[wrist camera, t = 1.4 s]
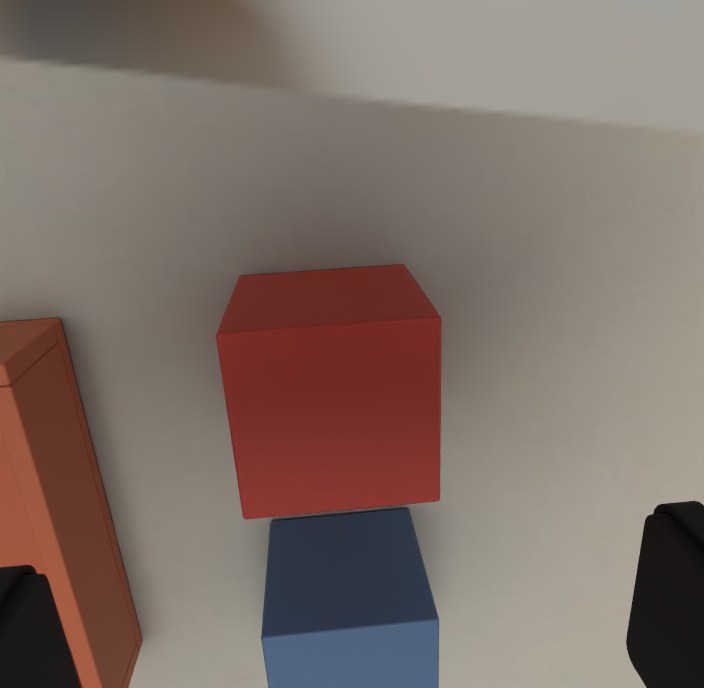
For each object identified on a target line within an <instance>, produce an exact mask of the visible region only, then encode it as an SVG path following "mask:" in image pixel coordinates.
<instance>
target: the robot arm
mask: <svg viewBox="0 0 704 688" xmlns="http://www.w3.org/2000/svg"><path fill="white" fill-rule="evenodd" d="M626 644H627V650H628V654H629V657H630V660H631V662H632V664H633V666H634V668H635V669H636V671H637V673H638V674H639V676H640V678H641V679H642V681H643V682H644V684H645V686H646V687H647V688H704V505H703V504H701V503H700V502H696V501H689V502H678V503H668V504H661V505H658V506H657V507H656V508H655V510H654V513H653V515H648V517H647V518H646V520H645V524H644V530H643V537H642V543H641V550H640V556H639V562H638V569H637V575H636V581H635V588H634V594H633V601H632V607H631V613H630V620H629V626H628V632H627V640H626ZM0 688H81V685H80V682H79V679H78V675H77V672H76V669H75V666H74V662H73V659H72V656H71V653H70V649H69V646H68V643H67V639H66V636H65V633H64V630H63V626H62V623H61V620H60V617H59V613H58V610H57V607H56V604H55V600H54V597H53V594H52V590H51V587H50V584H49V581H48V578H47V576H46V575H45V574H37V572H36V570H35V568H34V567H33V566H31V565H19V566H9V567H0Z"/></svg>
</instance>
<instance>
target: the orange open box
mask: <svg viewBox="0 0 704 688" xmlns="http://www.w3.org/2000/svg"><path fill="white" fill-rule="evenodd" d="M19 565H31V566H33V567H34V568H35V570H36V572H37V574H45V575H46V576H47V578H48V581H49V584H50V587H51V590H52V594H53V597H54V600H55V604H56V607H57V610H58V613H59V617H60V620H61V623H62V626H63V630H64V633H65V636H66V639H67V643H68V646H69V649H70V653H71V656H72V659H73V662H74V666H75V669H76V672H77V675H78V679H79V682H80V685H81V688H128V687H129V683H130V680H131V677H132V674H133V670H134V667H135V664H136V661H137V657H138V654H139V651H140V648H141V645H142V638H141V634H140V630H139V626H138V622H137V618H136V614H135V610H134V606H133V602H132V598H131V594H130V591H129V587H128V583H127V579H126V575H125V571H124V567H123V563H122V559H121V555H120V551H119V547H118V543H117V540H116V536H115V532H114V528H113V524H112V520H111V516H110V512H109V508H108V504H107V500H106V496H105V492H104V489H103V485H102V481H101V477H100V473H99V469H98V465H97V461H96V457H95V453H94V449H93V445H92V441H91V438H90V434H89V430H88V426H87V422H86V418H85V414H84V410H83V406H82V402H81V398H80V394H79V390H78V387H77V383H76V379H75V375H74V371H73V367H72V363H71V359H70V355H69V351H68V347H67V343H66V339H65V336H64V332H63V328H62V324H61V320H60V318H53V319H39V320H25V321H12V322H0V567H9V566H19Z"/></svg>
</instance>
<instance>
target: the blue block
mask: <svg viewBox="0 0 704 688" xmlns="http://www.w3.org/2000/svg"><path fill="white" fill-rule="evenodd" d="M261 640H262V647H263V653H264V660H265V667H266V673H267V680H268V687H269V688H438V687H439V618H438V614H437V610H436V607H435V603H434V599H433V596H432V592H431V588H430V585H429V581H428V577H427V574H426V570H425V567H424V563H423V559H422V556H421V552H420V548H419V545H418V541H417V537H416V534H415V530H414V526H413V523H412V519H411V515H410V512H409V509H407V508H406V509H396V510H385V511H375V512H364V513H353V514H343V515H332V516H322V517H311V518H301V519H290V520H279V521H272V522H271V523H270V534H269V547H268V560H267V572H266V585H265V598H264V610H263V623H262V636H261Z"/></svg>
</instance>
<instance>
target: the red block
mask: <svg viewBox="0 0 704 688" xmlns="http://www.w3.org/2000/svg"><path fill="white" fill-rule="evenodd" d="M216 339H217V346H218V352H219V359H220V366H221V372H222V379H223V386H224V393H225V399H226V406H227V413H228V419H229V426H230V433H231V439H232V446H233V453H234V460H235V466H236V473H237V480H238V486H239V493H240V500H241V506H242V513H243V517H244V519H255V518H265V517H276V516H286V515H297V514H308V513H318V512H329V511H340V510H350V509H361V508H371V507H382V506H393V505H403V504H414V503H425V502H435V501H439V500H440V433H441V317H440V315H439V314H438V312H437V311H436V310H435V308H434V307H433V305H432V304H431V302H430V301H429V300H428V298H427V297H426V295H425V294H424V292H423V291H422V290H421V288H420V287H419V285H418V284H417V282H416V281H415V280H414V278H413V277H412V275H411V274H410V272H409V271H408V270H407V268H406V267H405V265H403V264H402V265H388V266H374V267H359V268H345V269H331V270H317V271H302V272H288V273H274V274H259V275H245V276H240V277H239V279H238V281H237V284H236V286H235V289H234V291H233V294H232V296H231V299H230V301H229V304H228V306H227V309H226V311H225V314H224V316H223V319H222V321H221V324H220V326H219V329H218V331H217V334H216Z"/></svg>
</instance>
